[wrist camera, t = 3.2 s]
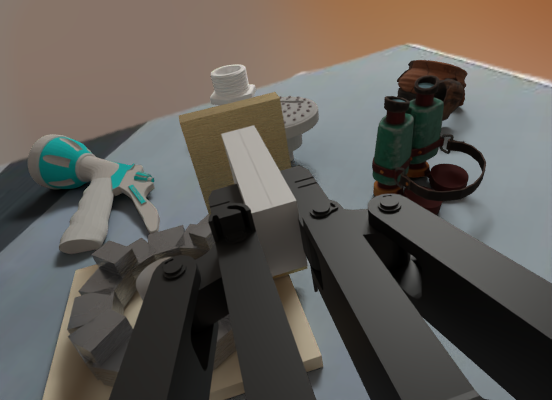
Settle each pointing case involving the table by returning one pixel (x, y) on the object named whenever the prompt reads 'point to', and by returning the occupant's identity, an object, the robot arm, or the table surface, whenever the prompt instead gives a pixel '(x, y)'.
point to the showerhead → (297, 119)
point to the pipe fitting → (231, 85)
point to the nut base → (75, 373)
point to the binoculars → (419, 150)
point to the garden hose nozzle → (89, 188)
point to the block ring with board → (170, 237)
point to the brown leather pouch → (448, 87)
